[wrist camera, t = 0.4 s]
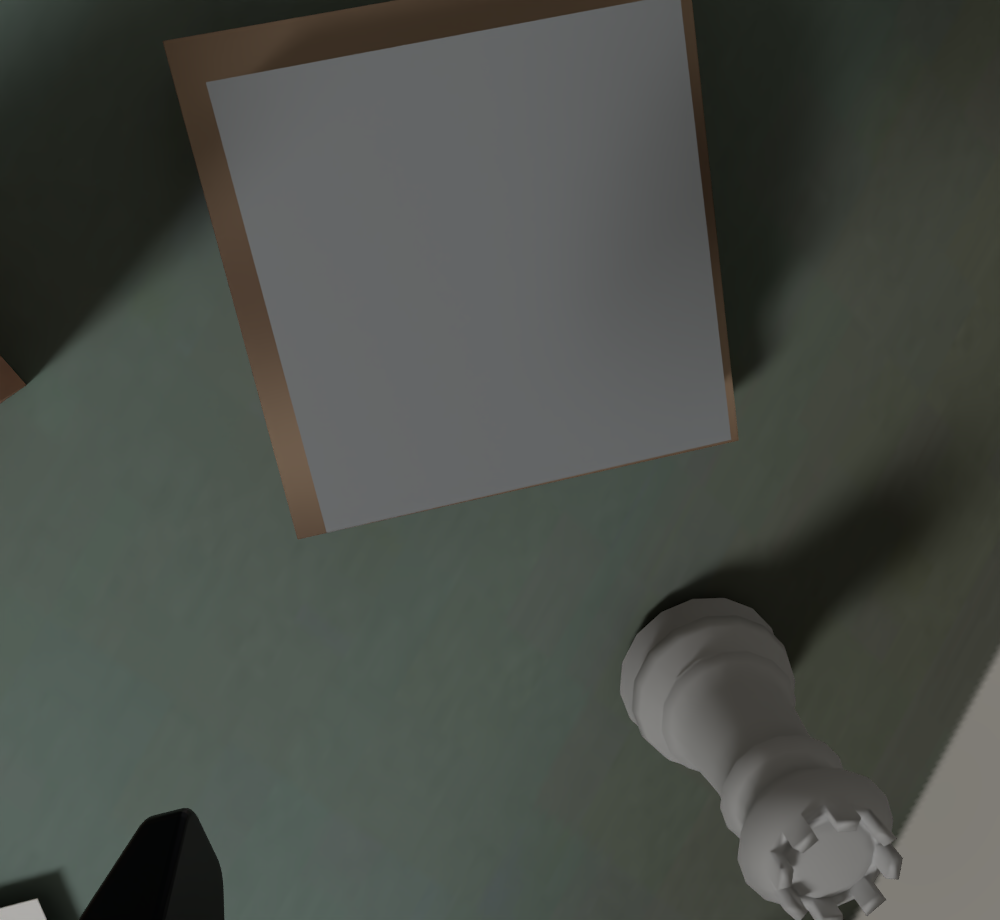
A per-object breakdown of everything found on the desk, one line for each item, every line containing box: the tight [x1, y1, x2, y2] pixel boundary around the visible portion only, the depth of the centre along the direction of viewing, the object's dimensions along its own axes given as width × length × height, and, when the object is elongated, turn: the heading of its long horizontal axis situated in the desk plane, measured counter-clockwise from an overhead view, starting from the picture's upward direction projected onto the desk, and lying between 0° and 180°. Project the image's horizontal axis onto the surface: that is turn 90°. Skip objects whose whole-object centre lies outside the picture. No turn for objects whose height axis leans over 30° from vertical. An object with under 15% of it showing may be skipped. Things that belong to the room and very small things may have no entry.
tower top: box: [206, 0, 731, 533], centre depth 18 cm, size 8×8×2 cm
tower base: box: [163, 0, 738, 539], centre depth 20 cm, size 10×10×3 cm
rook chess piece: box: [620, 598, 903, 920], centre depth 21 cm, size 4×4×8 cm
